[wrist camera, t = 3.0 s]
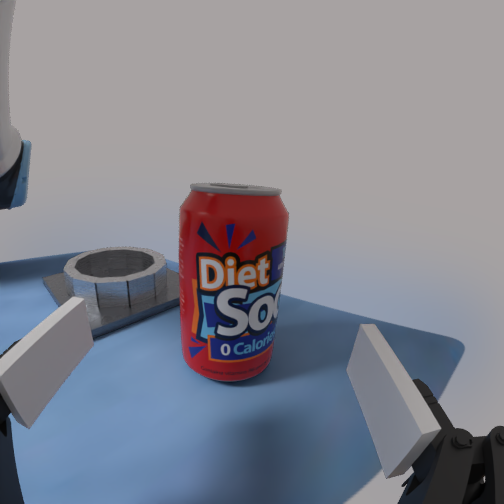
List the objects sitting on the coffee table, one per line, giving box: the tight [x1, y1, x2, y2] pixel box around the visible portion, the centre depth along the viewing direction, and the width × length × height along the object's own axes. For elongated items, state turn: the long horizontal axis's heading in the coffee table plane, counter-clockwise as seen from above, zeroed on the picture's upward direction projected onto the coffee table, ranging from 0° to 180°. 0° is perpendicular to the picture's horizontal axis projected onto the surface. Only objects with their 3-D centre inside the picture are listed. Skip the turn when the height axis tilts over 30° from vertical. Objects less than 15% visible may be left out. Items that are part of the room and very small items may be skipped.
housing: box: [43, 247, 180, 338], centre depth 34 cm, size 18×18×4 cm
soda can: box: [179, 183, 289, 381], centre depth 22 cm, size 8×8×15 cm
